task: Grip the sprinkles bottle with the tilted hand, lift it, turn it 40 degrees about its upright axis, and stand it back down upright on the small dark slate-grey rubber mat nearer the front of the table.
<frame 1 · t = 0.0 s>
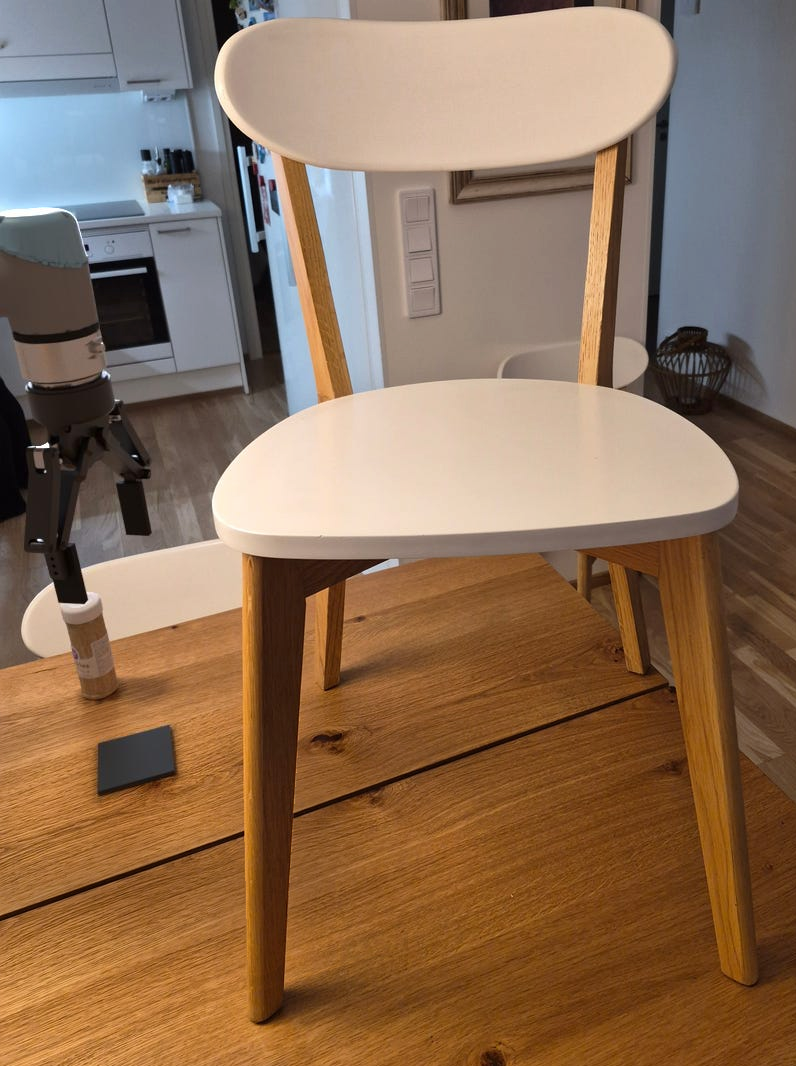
hand: (108, 565, 90), 24 cm above the table, tool pointing down, fingers open, 13 cm apart
sprinkles bottle: (101, 690, 109), on the table
mat: (136, 760, 98), on the table
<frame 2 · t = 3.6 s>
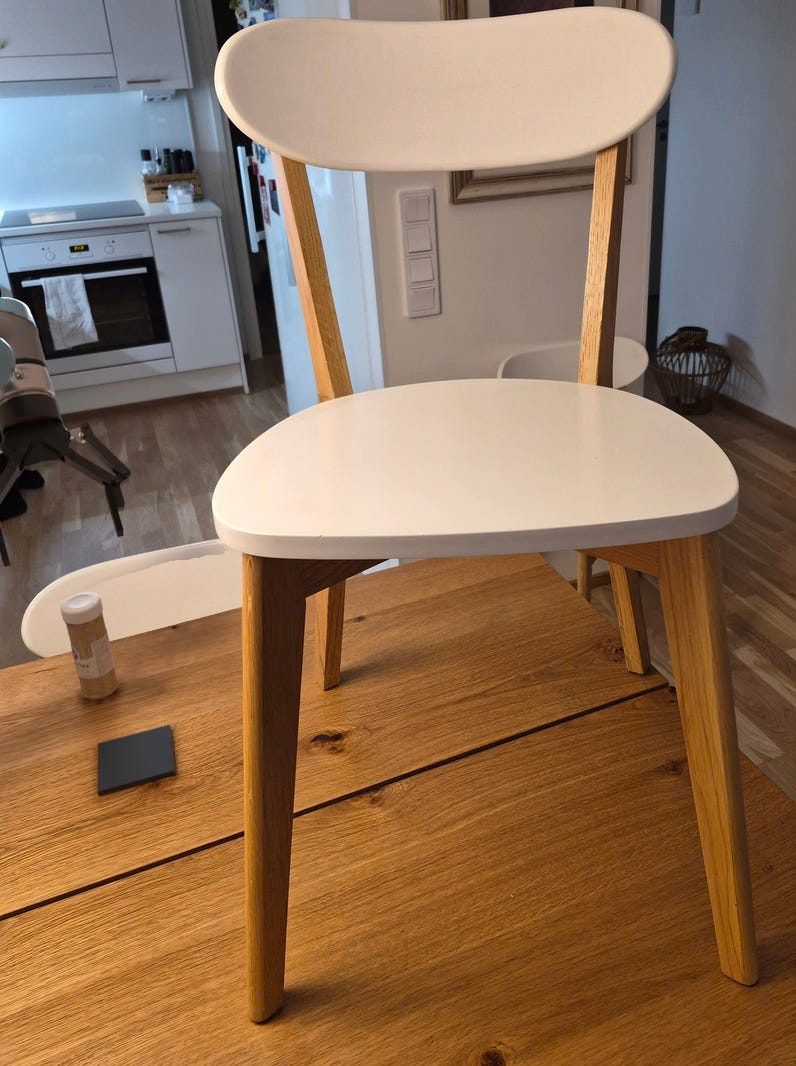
hand: (65, 548, 110), 16 cm above the table, tool tilted 45°, fingers open, 13 cm apart
nothing on the table moved.
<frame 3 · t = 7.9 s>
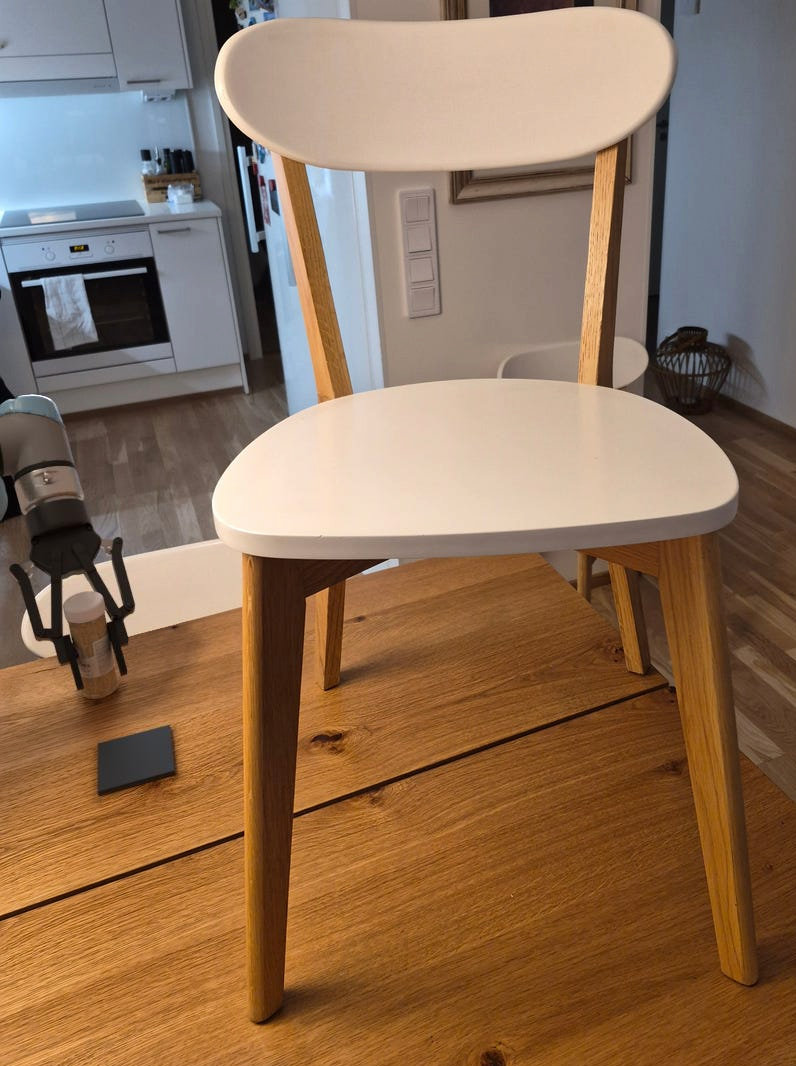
hand: (102, 680, 104), 4 cm above the table, tool tilted 45°, fingers closed on sprinkles bottle, 4 cm apart
sprinkles bottle: (101, 690, 109), on the table, touching gripper
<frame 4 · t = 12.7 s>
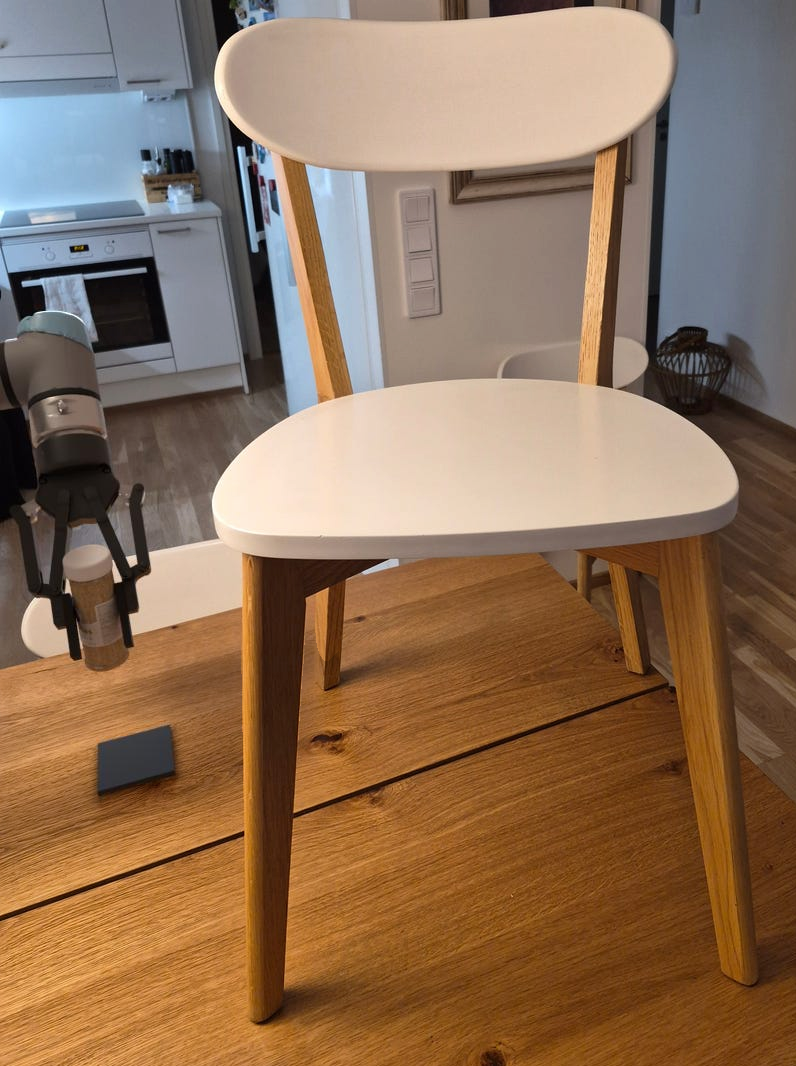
hand: (102, 651, 87), 18 cm above the table, tool tilted 45°, fingers closed on sprinkles bottle, 4 cm apart
sprinkles bottle: (108, 661, 93), point 14 cm above the table, touching gripper
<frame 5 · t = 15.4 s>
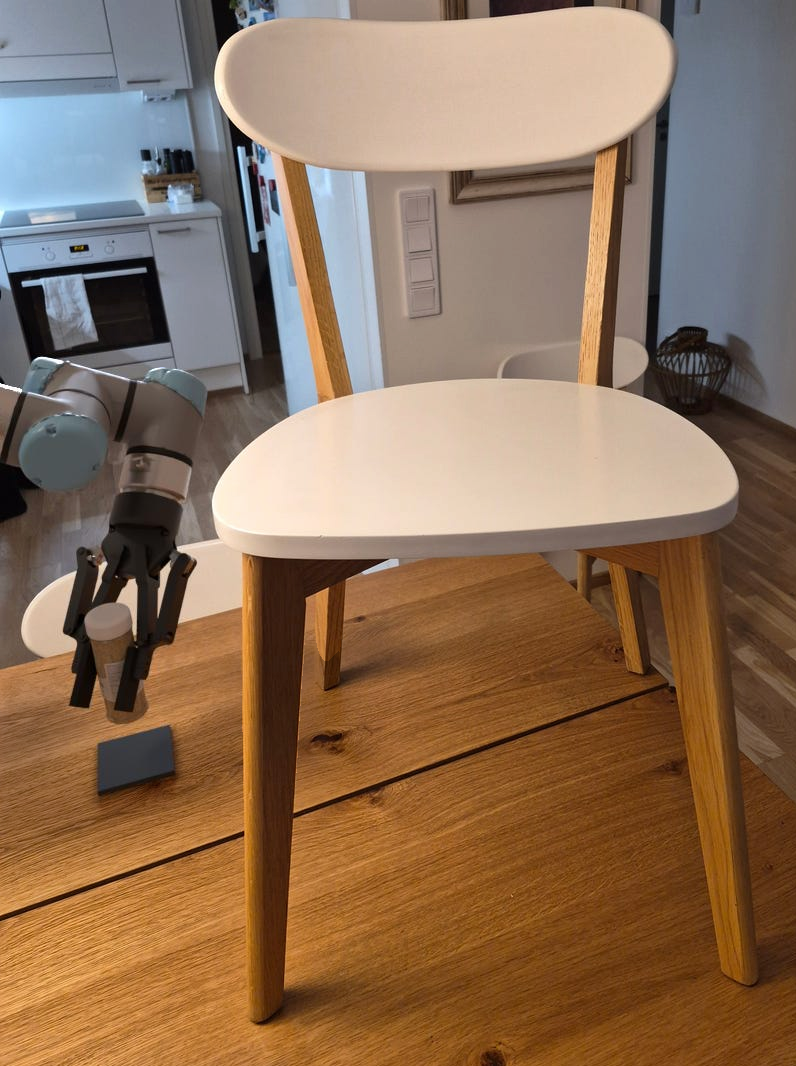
hand: (101, 708, 90), 11 cm above the table, tool tilted 45°, fingers closed on sprinkles bottle, 4 cm apart
sprinkles bottle: (128, 713, 96), point 6 cm above the table, touching gripper
when the fingers open (5 cm above the table, at t = 17.3 s): sprinkles bottle stays where it is, resting on mat.
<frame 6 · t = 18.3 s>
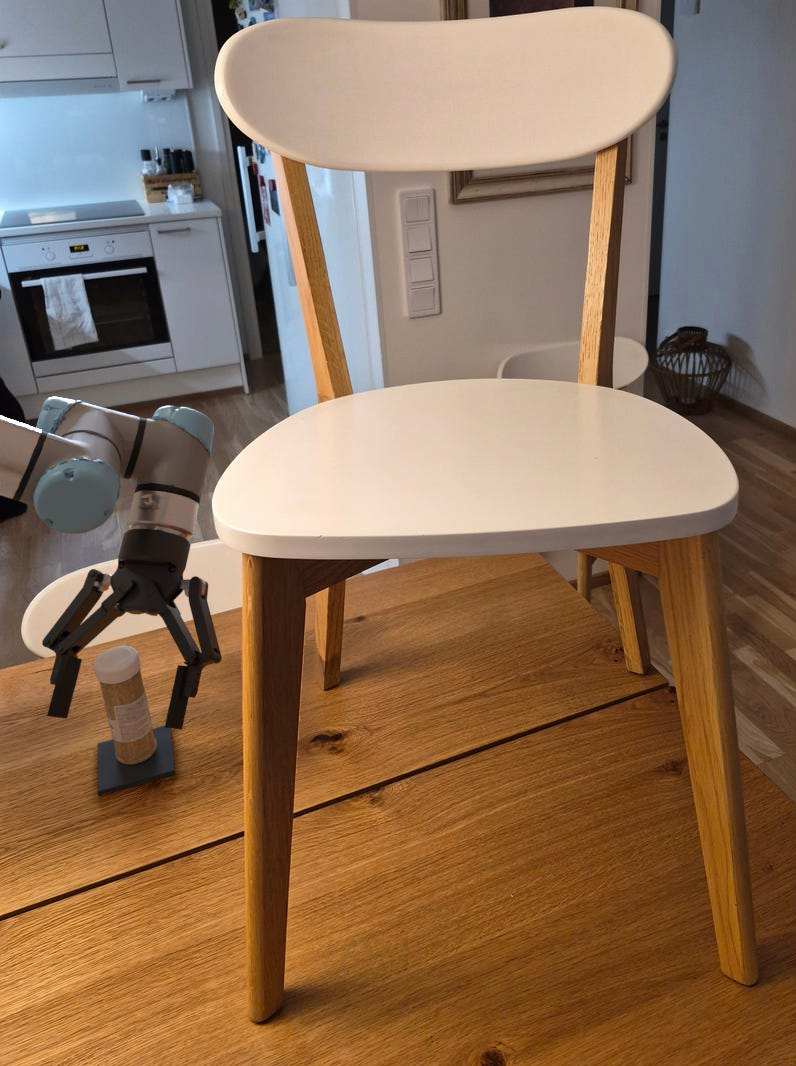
hand: (114, 723, 93), 7 cm above the table, tool tilted 45°, fingers open, 13 cm apart
sprinkles bottle: (137, 753, 98), resting on mat
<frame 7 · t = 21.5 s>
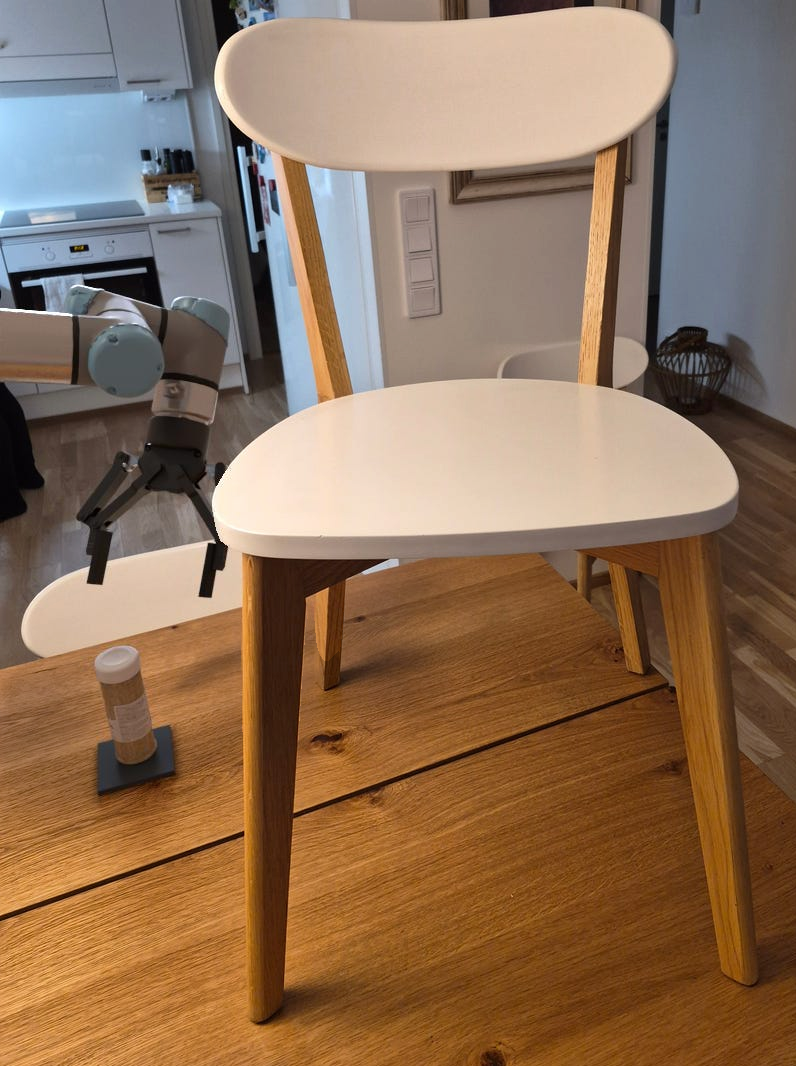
hand: (149, 591, 103), 15 cm above the table, tool tilted 35°, fingers open, 13 cm apart
nothing on the table moved.
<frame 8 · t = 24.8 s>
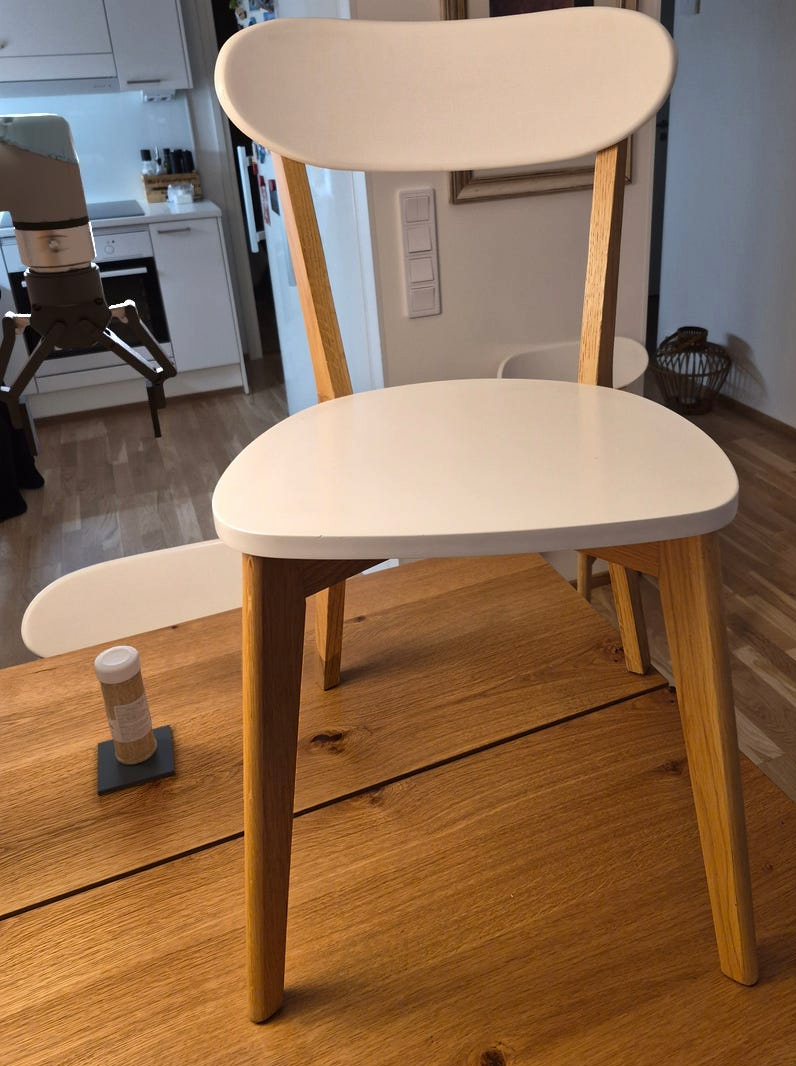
hand: (98, 442, 102), 32 cm above the table, tool pointing down, fingers open, 13 cm apart
nothing on the table moved.
at the end: sprinkles bottle inside the target area (0.6 cm from its centre), resting on mat; sprinkles bottle tilted 0°; the gripper is holding nothing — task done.
